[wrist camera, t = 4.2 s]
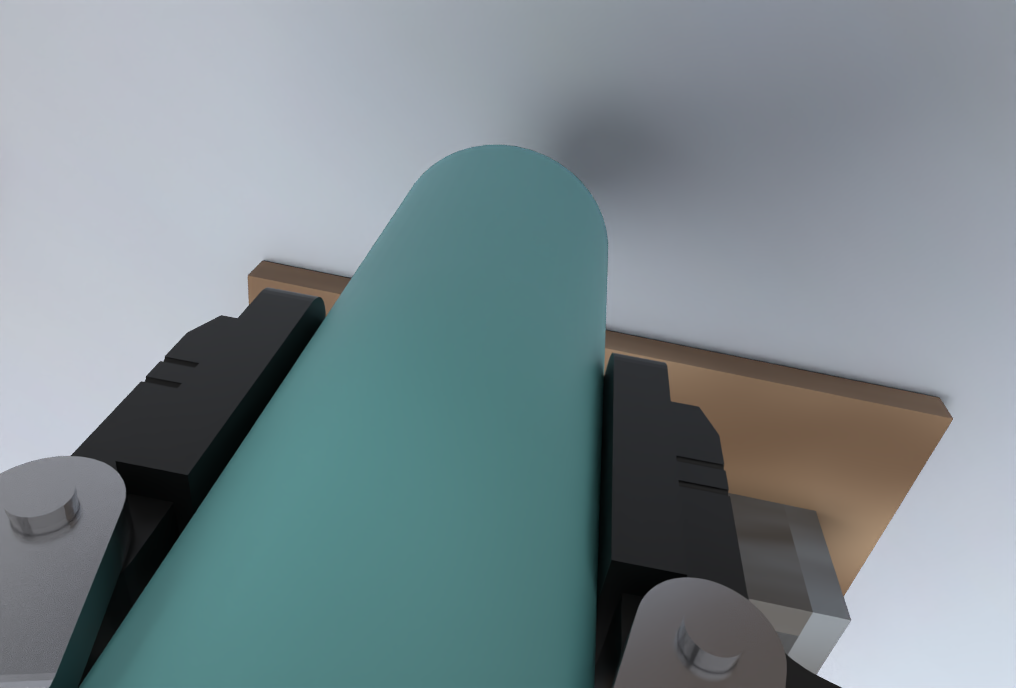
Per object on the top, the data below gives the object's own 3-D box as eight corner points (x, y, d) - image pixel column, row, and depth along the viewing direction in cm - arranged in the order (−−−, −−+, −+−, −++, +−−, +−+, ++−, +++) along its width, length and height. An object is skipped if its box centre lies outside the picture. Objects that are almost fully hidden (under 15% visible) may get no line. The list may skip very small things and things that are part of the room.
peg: (403, 126, 13) (-404, 1062, 3) (630, 166, 13) (673, 1313, 3) (392, 319, 15) (-76, 1228, 5) (584, 355, 15) (512, 1365, 5)
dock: (262, 260, 21) (174, 349, 17) (939, 397, 21) (1021, 524, 17) (272, 608, 30) (214, 725, 26) (753, 712, 29) (775, 849, 25)
